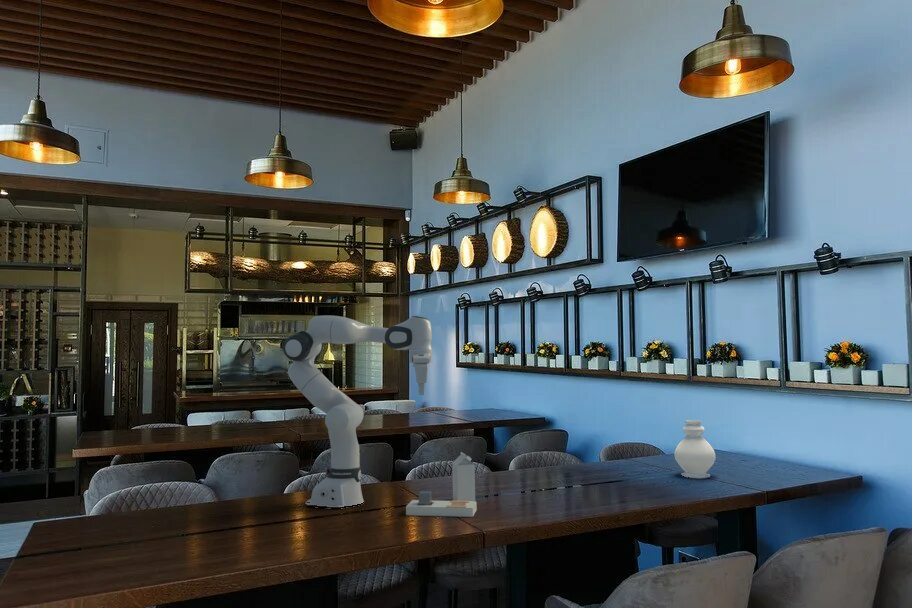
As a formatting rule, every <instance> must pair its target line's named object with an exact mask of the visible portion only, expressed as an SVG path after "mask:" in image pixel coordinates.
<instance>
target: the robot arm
mask: <svg viewBox="0 0 912 608" xmlns="http://www.w3.org/2000/svg"><path fill="white" fill-rule="evenodd" d="M432 333H433V332H432V324H431V321H430V320H429V318H427V317H424V316H417V315H412V316H410V317H409V318H407V320H405V321H403V322H400V323H398V324H395V325H392V326H390V327H381V326H373V325H369V324H367V323H363V322H360V321H358V320H355V319H352V318H350V317H349V318H348V317H345V316H339V315H316V316H313V317H312V318H311V319H310V321H309V322H308V326H307V330H300V331H299V332H297V333H294V334H292V335H291V336H288V337H287V338H286V339H285V340H284V342H283V346H282V350H283V354H284V355H285V357H287V359H289V360H290V361H292V363H291V364H290V366H289V367H288V369H287V375H288V377H289V378H290V381H291V382H292V384H293V385H294V386H295V387H296V389H298V391H299V392H300V393H301V394H302V395H303V396H304V397H305V398H306V399H307V400H308V401H309V402H310V403H311V404H312V405H313V406H314V407H315V408H317V409H319V410H320V411H321V412H322V413H324V414H325V418H324V423H325V427H326V428H327V432H328V437H329V441H330V443H329V444H330V465H331V466H329V467H328V468H327V469H326V470H325V474H326V477H325V478H324V479H322V480H321V481H320V482H319V483H317V484H316V486H315V487H313V489H312V492H311V495H310V496H311V498H309V499H308V500H306V501H305V504H307V505H317V506H327V507H344V506H352V505H357V504H361V503H363V502H364V503H365V500H364V498H363V492H362V486H361V485H362V484H361V479H362V471H361V469H362V468H361V467H362V466H361V465H360V464H361V463H360V459H361V457H360V444H359V441H358V437H357V431H356V429H357V428H358V427H359V426H360V425H361V423H362V422H363V419H364V415H365V414H364V413H365V412H364V409H363V408H362V406H361V405H359V404H358V403H357V402H355V401H354V400H353V399H351V398H350V397H349V396H348V395H346V394H345V392H343V391H341V390H340V389H339V388H338V387H336V385H334V384H333V383H332V382H331V381H330V380H329V379H328V378H327V377H326V376H325V375H324V374H323V373H322V371H321V370H320V369H319V368H317V366H316V365H315V364H316V362H318V360H319V357H320V355H321V354H322V353H323V351H324V346H325V345H324V344H325V343H328V344H334V345H350V344H357V343H358V344H359V343H360V344H361V343H367V342H368V343H369V342H370V343H379V344H385V345H386V346H387V347H388V348H390V349H391V350H395V351H396V350H397V351H409V356H408V357H409V363H411V364H412V368H414V372H415V380H416V383H417V385H418V394H419V395H420V396H424V395H425V384H426V383H427V381H428V380H427V379H428V372H429V367H430V363H433V347H432V341H433V340H432V339H433V334H432ZM307 502H310V503H307ZM364 503H363V504H364ZM361 505H362V504H361Z"/></svg>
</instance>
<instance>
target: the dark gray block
mask: <svg viewBox="0 0 912 608" xmlns="http://www.w3.org/2000/svg"><path fill="white" fill-rule="evenodd" d="M418 500H419V505H432V500H433V492H432V490H429V491H428V490H421V491H420V492H419V493H418Z"/></svg>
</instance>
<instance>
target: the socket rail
mask: <svg viewBox="0 0 912 608" xmlns="http://www.w3.org/2000/svg"><path fill="white" fill-rule="evenodd" d="M477 506H478V505H477V501H476V500H475V501H459V500H453V499H452V500H433V499H432V505H419V499H412V500H411V501H410V502H409V503H408V504H407V505H406V506H405V516H424V517H425V516H426V517H429V516H431V517H460V518H461V517H465V518H466V517H469V518H471V517H474V515H475V514H476V512H477V509H478V508H477Z"/></svg>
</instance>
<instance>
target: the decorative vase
mask: <svg viewBox="0 0 912 608" xmlns="http://www.w3.org/2000/svg"><path fill="white" fill-rule="evenodd" d="M684 423H685V425H684V426H683V428H682V431H683V433H684V434H685V435H686V436H684V438H682V440H680V441H679V443H678V444H677V446H676V448H675V449H674V454H673V455H674V459H675V461H676V463H677V464H678V465H679V467H680V468H681V469H682V470H683V472H682V473H680V475H682V476H681V477H683V476H684V477H683V478H688V477H689V478H688V479H708V478H711V474H709V473H707V472H708V471H709V470H710V469H711V467H712V466H713V465H714V463H715V462H716V457H717V455H716V452H715V449H714V448H713V446H712V445H711V444H710V442H708V441H707V440H706V439H705V438H704V437H703V436H702V435H703V434H704V433H705V427H704V426H703V425H701V424H703V420H698V419H686V420H684Z"/></svg>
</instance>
